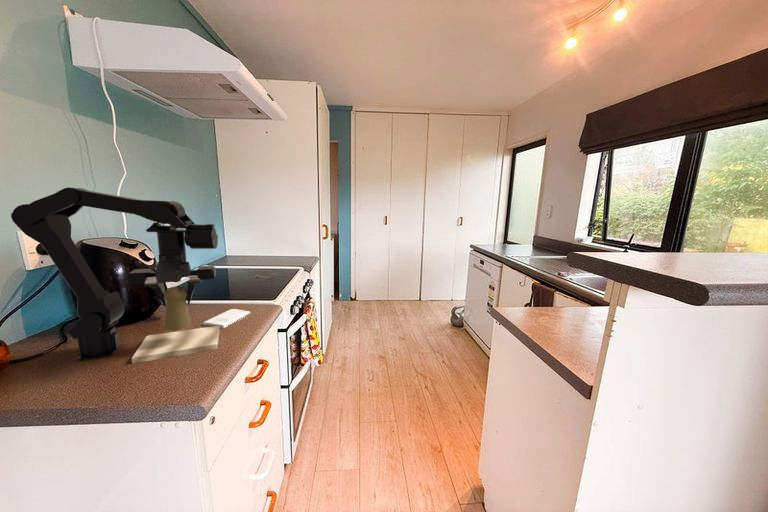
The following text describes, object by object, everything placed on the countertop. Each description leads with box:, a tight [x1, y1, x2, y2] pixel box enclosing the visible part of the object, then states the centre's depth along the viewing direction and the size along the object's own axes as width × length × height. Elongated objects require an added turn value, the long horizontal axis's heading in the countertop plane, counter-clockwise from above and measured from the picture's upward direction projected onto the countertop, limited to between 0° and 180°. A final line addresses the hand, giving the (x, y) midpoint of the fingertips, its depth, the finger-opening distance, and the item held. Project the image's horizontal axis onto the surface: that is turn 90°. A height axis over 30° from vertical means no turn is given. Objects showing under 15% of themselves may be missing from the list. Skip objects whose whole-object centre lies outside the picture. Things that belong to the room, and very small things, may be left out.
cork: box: [163, 286, 192, 331], centre depth 76 cm, size 6×6×11 cm
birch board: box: [131, 326, 221, 364], centre depth 78 cm, size 18×13×2 cm
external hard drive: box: [202, 308, 251, 329], centre depth 96 cm, size 2×8×12 cm
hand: (177, 304), depth 76 cm, fingers closed on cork, 5 cm apart
